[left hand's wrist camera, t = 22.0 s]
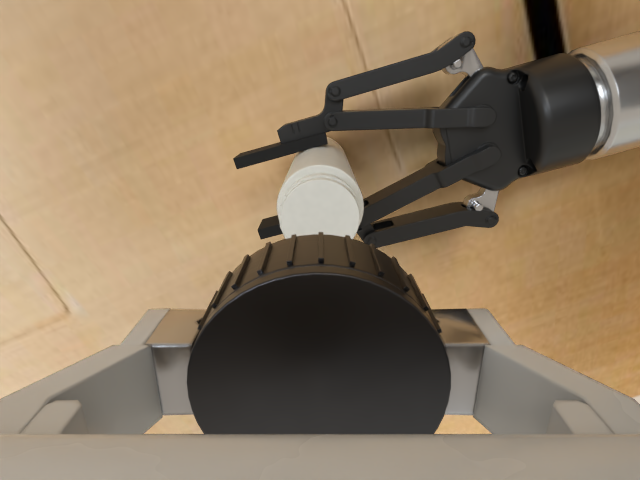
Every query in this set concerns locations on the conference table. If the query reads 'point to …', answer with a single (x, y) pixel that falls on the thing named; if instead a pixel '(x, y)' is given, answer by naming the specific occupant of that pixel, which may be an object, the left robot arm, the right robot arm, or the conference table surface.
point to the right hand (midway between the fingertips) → (251, 195)
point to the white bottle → (320, 194)
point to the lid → (319, 345)
